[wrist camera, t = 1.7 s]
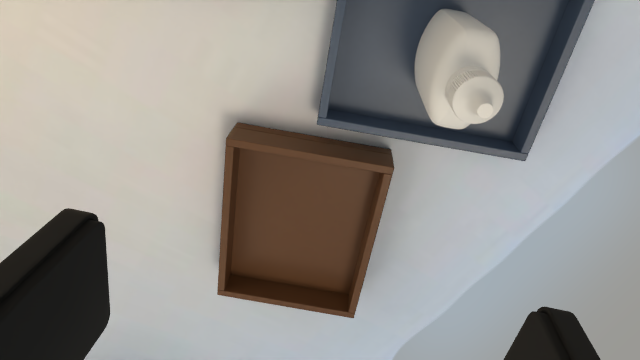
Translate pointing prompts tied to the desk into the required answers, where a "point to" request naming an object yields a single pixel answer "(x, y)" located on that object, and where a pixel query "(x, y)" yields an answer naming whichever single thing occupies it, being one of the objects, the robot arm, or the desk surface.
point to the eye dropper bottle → (458, 70)
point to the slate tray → (399, 69)
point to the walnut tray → (299, 218)
